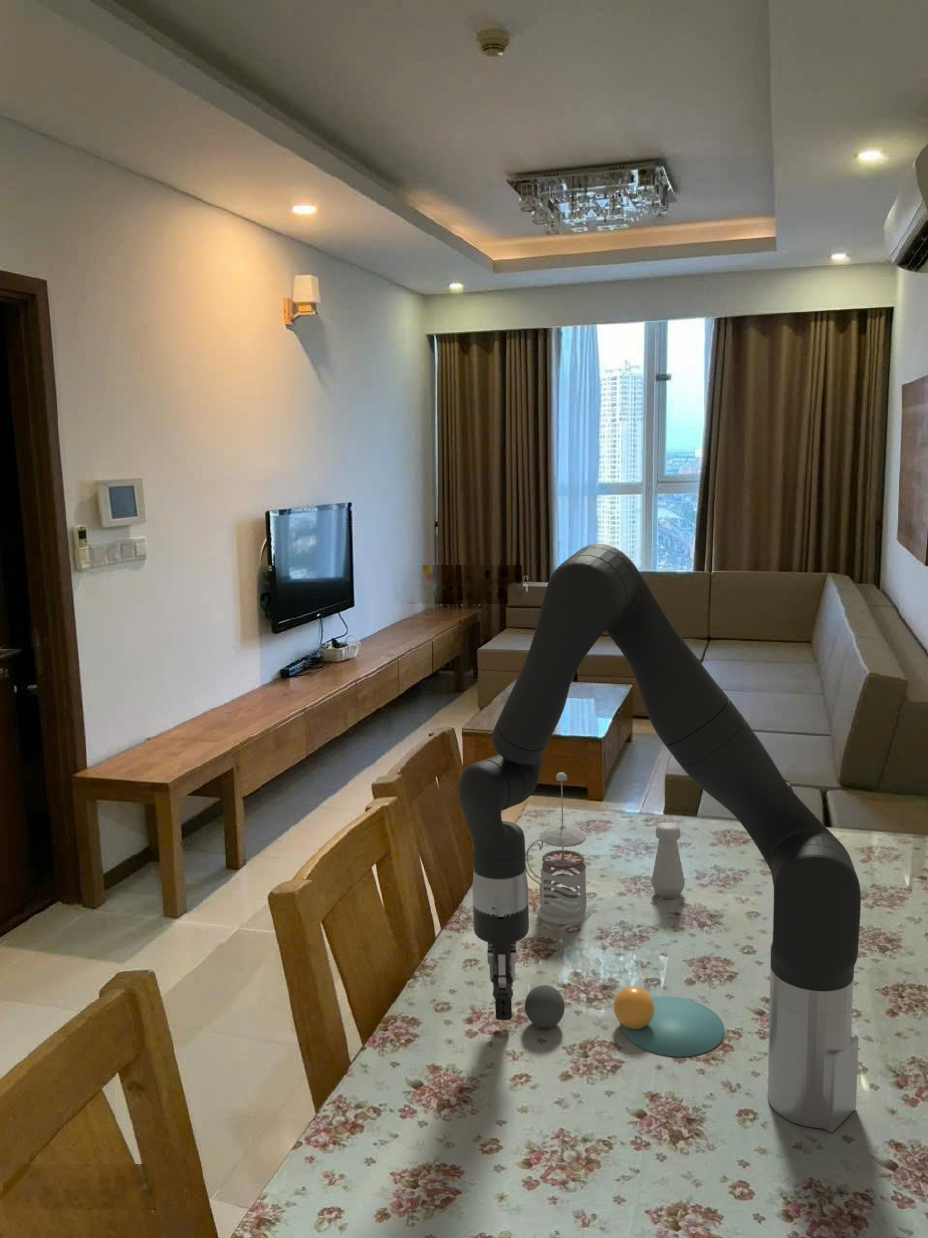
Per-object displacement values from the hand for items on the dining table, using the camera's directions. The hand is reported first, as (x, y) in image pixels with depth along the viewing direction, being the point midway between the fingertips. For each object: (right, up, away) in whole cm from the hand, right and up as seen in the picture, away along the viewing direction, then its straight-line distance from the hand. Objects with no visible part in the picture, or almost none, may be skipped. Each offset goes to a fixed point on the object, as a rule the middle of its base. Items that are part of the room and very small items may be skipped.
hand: (503, 1017), depth 133 cm
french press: (+11, +4, +34) cm, 36 cm away
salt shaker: (+31, +6, +39) cm, 50 cm away
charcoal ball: (+6, +1, 0) cm, 6 cm away
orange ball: (+18, +2, -1) cm, 18 cm away
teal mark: (+23, -1, -1) cm, 23 cm away
